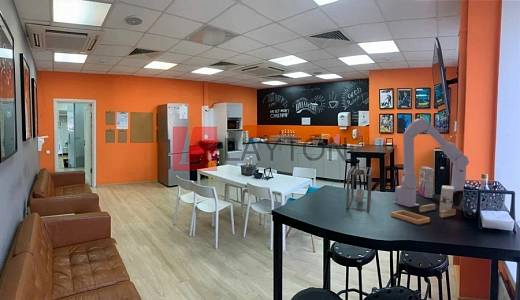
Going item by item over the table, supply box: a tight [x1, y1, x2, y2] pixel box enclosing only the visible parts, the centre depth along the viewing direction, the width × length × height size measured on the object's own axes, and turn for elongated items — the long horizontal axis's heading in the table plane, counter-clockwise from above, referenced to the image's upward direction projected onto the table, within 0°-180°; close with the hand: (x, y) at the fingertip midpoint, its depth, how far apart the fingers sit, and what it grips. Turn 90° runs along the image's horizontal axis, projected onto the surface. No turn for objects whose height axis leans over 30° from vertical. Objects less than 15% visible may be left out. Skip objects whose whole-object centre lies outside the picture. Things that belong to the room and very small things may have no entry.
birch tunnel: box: [418, 203, 457, 218], centre depth 146 cm, size 11×11×2 cm
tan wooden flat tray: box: [390, 209, 431, 226], centre depth 136 cm, size 13×8×2 cm, turn 30°
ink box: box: [439, 185, 454, 213], centre depth 149 cm, size 9×5×12 cm, turn 148°
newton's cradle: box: [345, 165, 373, 212], centre depth 160 cm, size 30×10×18 cm, turn 159°
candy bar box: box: [418, 166, 435, 199], centre depth 180 cm, size 11×5×16 cm, turn 168°
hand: (456, 205), depth 154 cm, fingers closed
